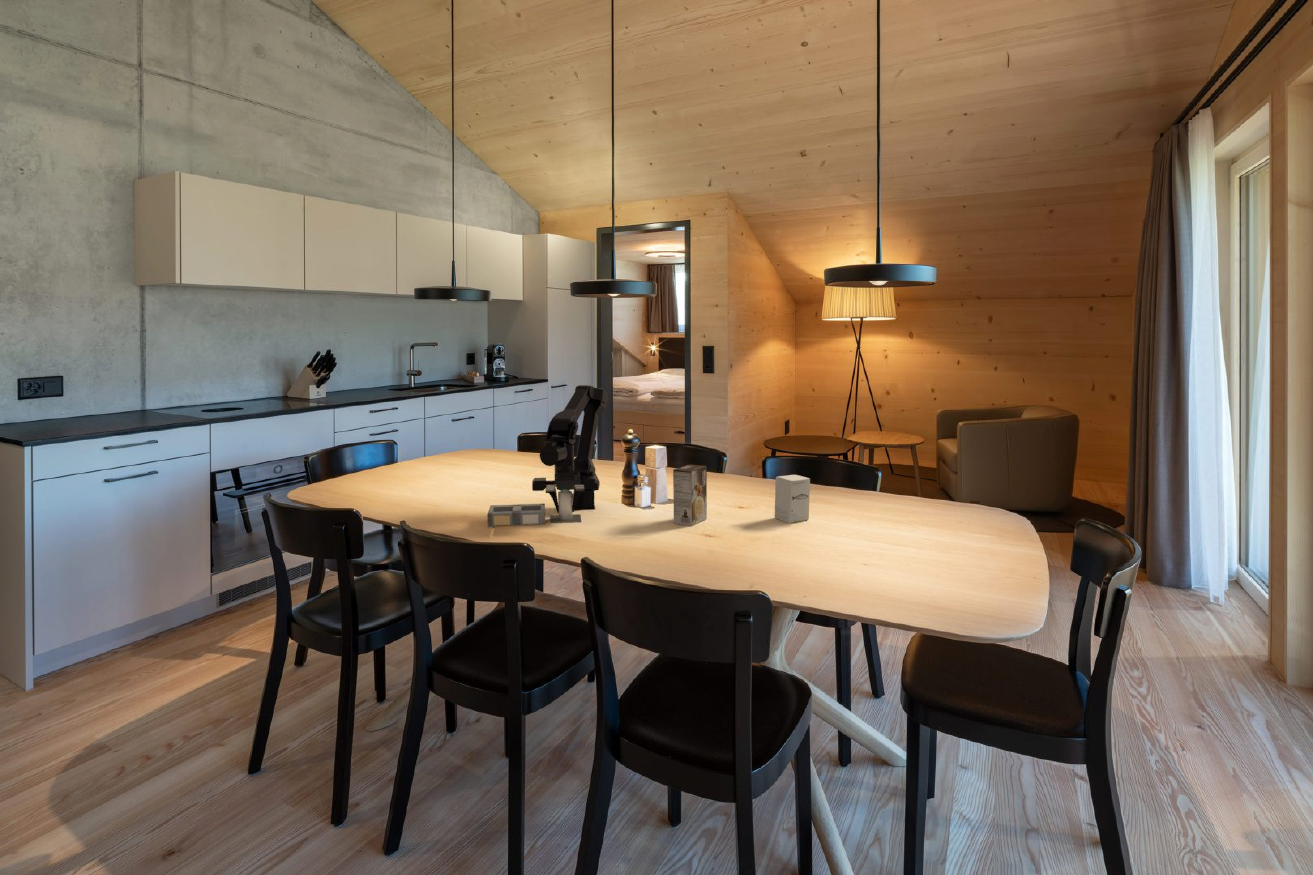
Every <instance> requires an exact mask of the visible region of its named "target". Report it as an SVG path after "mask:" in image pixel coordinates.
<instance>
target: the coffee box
mask: <svg viewBox="0 0 1313 875" xmlns="http://www.w3.org/2000/svg"><path fill="white" fill-rule="evenodd" d="M672 471H673V474H672V477H673V478H672V480H673V482H672V483H673V490H672V491H673V493H672V494H673V497H672V498H673V524H675V525H681V526H682V525H683V526H688V527H689V526H690V527H693V526H695V525H697V524H699V523H701V522H704V521H705V520H707V518H708V517H707V512H708V511H707V510H708V509H707V508H708V502H707V501H708V500H707V499H708V498H707V496H708V495H707V493H708V490H707V489H708V488H707V486H708V484H707V482H708V481H707V478H708V476H707V474H708V473H707V471H708V470H707V465H698V464H697V465H696V464H686V465H682V466H680V467H676V468H673V469H672Z"/></svg>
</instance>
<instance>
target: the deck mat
mask: <svg viewBox="0 0 1313 875" xmlns="http://www.w3.org/2000/svg"><path fill="white" fill-rule="evenodd" d="M549 516H550V517H549V518H550V519H549V524H572V523H582V514H579V513H578V514H577V513H575V514H572V519H571V520H559V514H553V515H552V514H551V515H549Z"/></svg>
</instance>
